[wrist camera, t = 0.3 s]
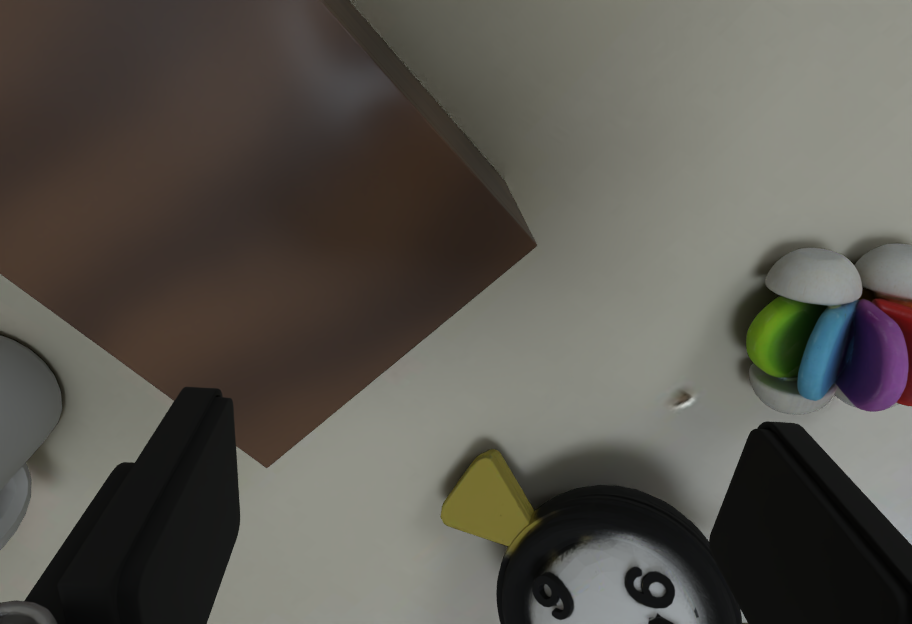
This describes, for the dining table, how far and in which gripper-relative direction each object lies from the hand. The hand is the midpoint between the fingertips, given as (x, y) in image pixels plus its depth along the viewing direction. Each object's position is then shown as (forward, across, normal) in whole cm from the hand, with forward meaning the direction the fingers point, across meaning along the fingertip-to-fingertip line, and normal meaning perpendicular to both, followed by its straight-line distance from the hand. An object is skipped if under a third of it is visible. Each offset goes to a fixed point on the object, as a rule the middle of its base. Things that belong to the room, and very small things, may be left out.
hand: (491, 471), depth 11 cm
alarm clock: (+20, -10, +19) cm, 29 cm away
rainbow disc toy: (+20, -20, +5) cm, 28 cm away
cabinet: (+19, +8, -1) cm, 21 cm away
